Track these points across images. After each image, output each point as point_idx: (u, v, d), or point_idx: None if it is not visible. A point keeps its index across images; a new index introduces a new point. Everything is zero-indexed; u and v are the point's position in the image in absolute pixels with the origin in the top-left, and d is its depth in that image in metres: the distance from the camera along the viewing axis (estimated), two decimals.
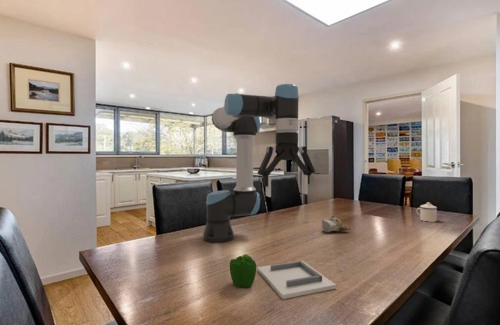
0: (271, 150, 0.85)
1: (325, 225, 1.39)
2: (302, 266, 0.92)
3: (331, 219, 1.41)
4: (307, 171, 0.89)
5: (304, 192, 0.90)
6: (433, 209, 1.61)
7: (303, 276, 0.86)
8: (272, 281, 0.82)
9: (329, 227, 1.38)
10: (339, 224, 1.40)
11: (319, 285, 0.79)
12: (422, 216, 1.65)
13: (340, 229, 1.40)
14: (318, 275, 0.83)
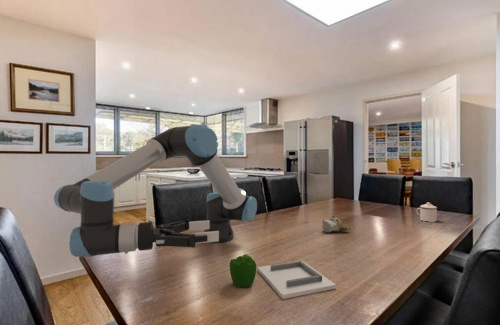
0: None
1: (325, 225, 1.39)
2: (302, 266, 0.92)
3: (331, 219, 1.41)
4: None
5: None
6: (433, 209, 1.61)
7: (303, 276, 0.86)
8: (272, 281, 0.82)
9: (330, 227, 1.38)
10: (339, 224, 1.40)
11: (319, 285, 0.79)
12: (422, 216, 1.65)
13: (340, 229, 1.40)
14: (318, 275, 0.83)
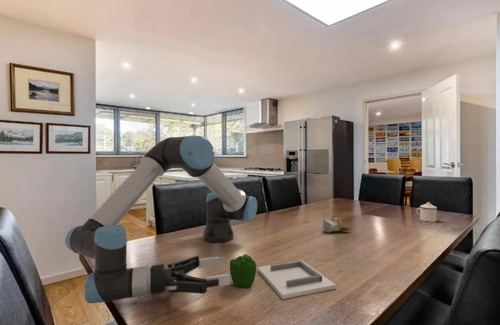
0: None
1: (326, 225, 1.39)
2: (302, 266, 0.92)
3: (332, 219, 1.41)
4: None
5: None
6: (433, 209, 1.61)
7: (303, 276, 0.86)
8: (272, 281, 0.82)
9: (330, 227, 1.38)
10: (340, 224, 1.40)
11: (319, 285, 0.79)
12: (422, 216, 1.65)
13: (341, 229, 1.40)
14: (318, 275, 0.83)
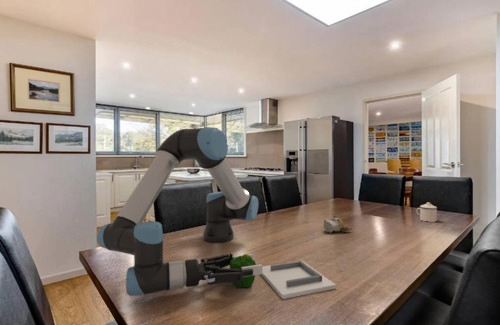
0: None
1: (327, 225, 1.39)
2: (302, 266, 0.92)
3: (333, 219, 1.41)
4: None
5: None
6: (433, 209, 1.61)
7: (303, 276, 0.86)
8: (272, 281, 0.82)
9: (331, 227, 1.38)
10: (341, 224, 1.40)
11: (319, 285, 0.79)
12: (422, 216, 1.65)
13: (342, 229, 1.40)
14: (318, 275, 0.83)
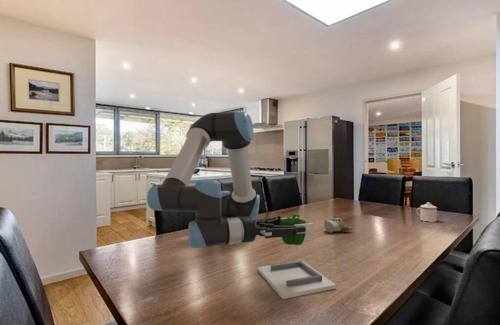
0: None
1: (328, 225, 1.38)
2: (302, 266, 0.92)
3: (333, 219, 1.41)
4: None
5: None
6: (433, 209, 1.61)
7: (303, 276, 0.86)
8: (272, 281, 0.82)
9: (332, 227, 1.38)
10: (341, 224, 1.40)
11: (319, 285, 0.79)
12: (422, 216, 1.65)
13: (342, 229, 1.40)
14: (318, 275, 0.83)
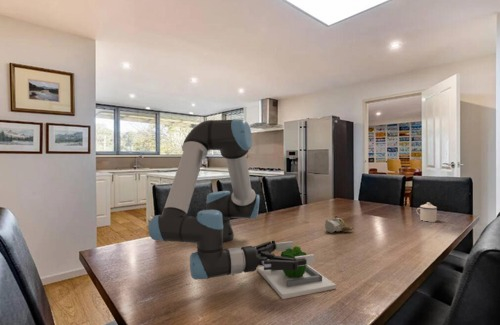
0: None
1: (329, 225, 1.38)
2: None
3: (334, 219, 1.40)
4: None
5: None
6: (433, 209, 1.61)
7: (303, 276, 0.86)
8: (272, 281, 0.82)
9: (333, 227, 1.37)
10: (342, 224, 1.40)
11: (319, 285, 0.79)
12: (422, 216, 1.65)
13: (343, 229, 1.40)
14: (318, 275, 0.83)
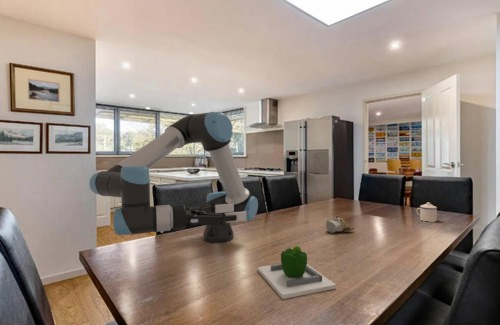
0: None
1: (330, 225, 1.38)
2: None
3: (335, 219, 1.40)
4: None
5: None
6: (433, 209, 1.61)
7: (303, 276, 0.86)
8: (272, 281, 0.82)
9: (334, 227, 1.37)
10: (343, 224, 1.40)
11: (319, 285, 0.79)
12: (422, 216, 1.65)
13: (344, 229, 1.39)
14: (318, 275, 0.83)
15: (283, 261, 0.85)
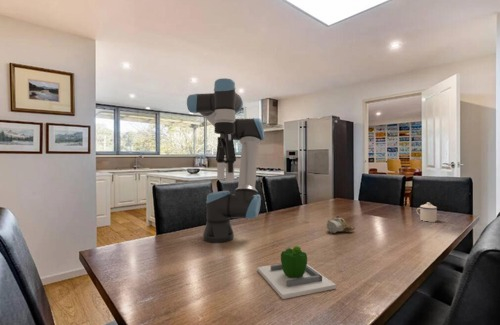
0: (218, 140, 1.01)
1: (331, 226, 1.38)
2: None
3: (336, 219, 1.40)
4: (226, 159, 0.88)
5: None
6: (433, 209, 1.61)
7: (303, 276, 0.86)
8: (272, 281, 0.82)
9: (335, 227, 1.37)
10: (344, 224, 1.40)
11: (319, 285, 0.79)
12: (422, 216, 1.65)
13: (345, 229, 1.39)
14: (318, 275, 0.83)
15: (283, 261, 0.85)
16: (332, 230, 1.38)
